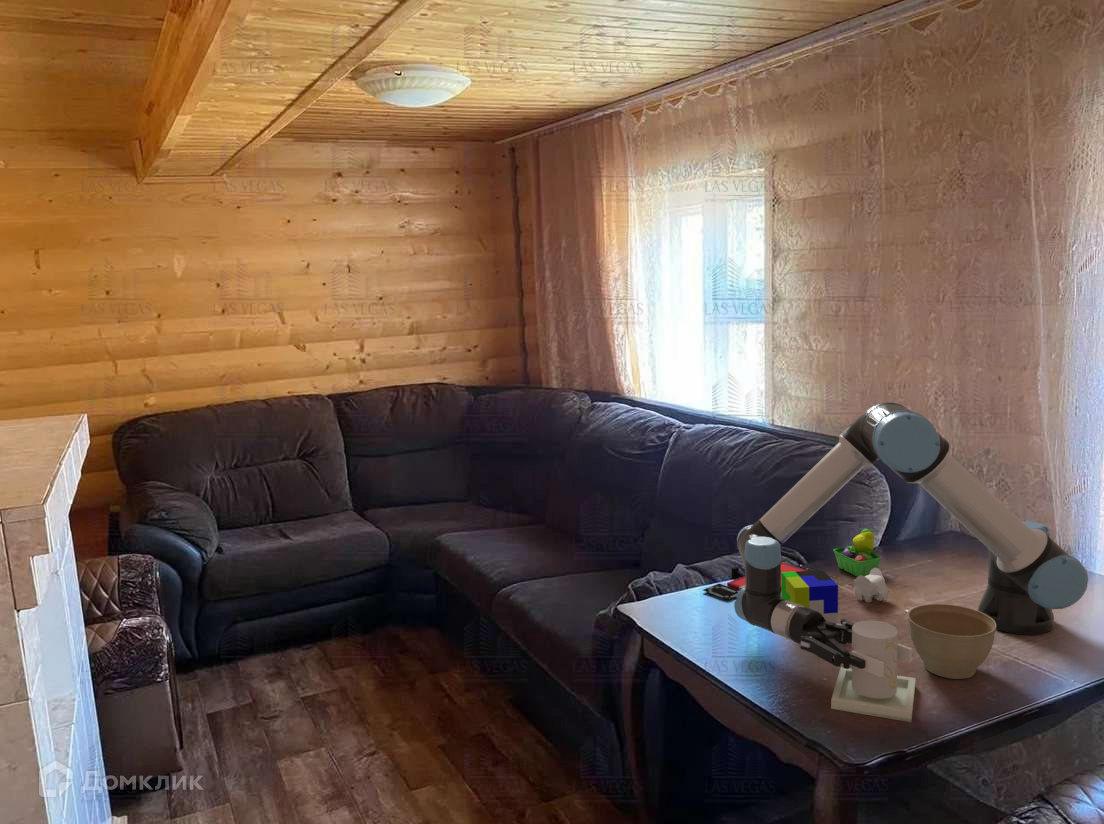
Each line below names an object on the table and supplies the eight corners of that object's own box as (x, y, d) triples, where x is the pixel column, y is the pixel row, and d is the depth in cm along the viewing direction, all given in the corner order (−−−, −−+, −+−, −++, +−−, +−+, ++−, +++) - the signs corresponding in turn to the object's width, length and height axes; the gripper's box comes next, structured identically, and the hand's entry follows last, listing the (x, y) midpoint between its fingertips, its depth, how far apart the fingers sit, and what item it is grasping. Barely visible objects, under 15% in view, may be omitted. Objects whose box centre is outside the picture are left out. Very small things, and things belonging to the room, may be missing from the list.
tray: (915, 686, 168) (915, 678, 167) (911, 722, 155) (911, 713, 155) (840, 675, 174) (840, 667, 173) (831, 708, 161) (831, 699, 161)
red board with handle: (696, 591, 221) (742, 608, 210) (696, 581, 221) (742, 598, 209) (770, 563, 239) (815, 578, 228) (770, 554, 239) (816, 568, 227)
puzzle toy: (837, 626, 196) (838, 585, 195) (794, 629, 196) (794, 588, 194) (822, 609, 206) (822, 569, 205) (781, 611, 206) (781, 572, 204)
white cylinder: (892, 702, 159) (893, 641, 157) (847, 692, 163) (847, 633, 161) (900, 683, 165) (901, 625, 163) (856, 674, 170) (857, 617, 168)
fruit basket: (831, 566, 233) (831, 527, 231) (859, 561, 236) (859, 522, 234) (858, 580, 222) (858, 539, 220) (886, 575, 225) (887, 534, 223)
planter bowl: (1006, 689, 165) (1008, 637, 163) (917, 687, 168) (918, 635, 166) (980, 652, 180) (981, 603, 178) (899, 650, 183) (900, 602, 181)
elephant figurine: (882, 609, 204) (882, 581, 203) (845, 599, 211) (845, 571, 210) (897, 600, 209) (898, 572, 208) (861, 590, 216) (861, 563, 215)
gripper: (831, 627, 184) (928, 664, 165) (764, 655, 173) (861, 699, 154) (831, 594, 183) (929, 628, 164) (764, 620, 171) (862, 660, 153)
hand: (896, 662), depth 159 cm, fingers closed on white cylinder, 8 cm apart
